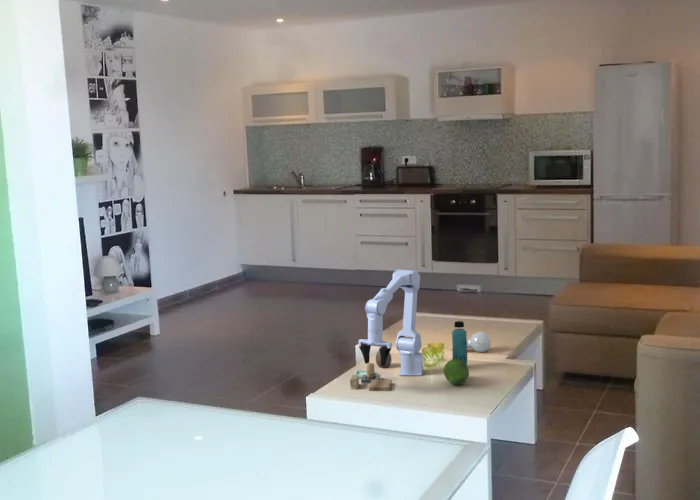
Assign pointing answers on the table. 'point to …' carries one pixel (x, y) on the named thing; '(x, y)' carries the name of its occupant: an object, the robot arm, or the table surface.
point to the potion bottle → (479, 342)
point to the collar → (365, 380)
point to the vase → (378, 360)
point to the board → (380, 385)
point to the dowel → (370, 371)
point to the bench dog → (354, 382)
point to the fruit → (456, 371)
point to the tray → (361, 373)
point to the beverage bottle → (459, 342)
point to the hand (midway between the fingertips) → (375, 364)
